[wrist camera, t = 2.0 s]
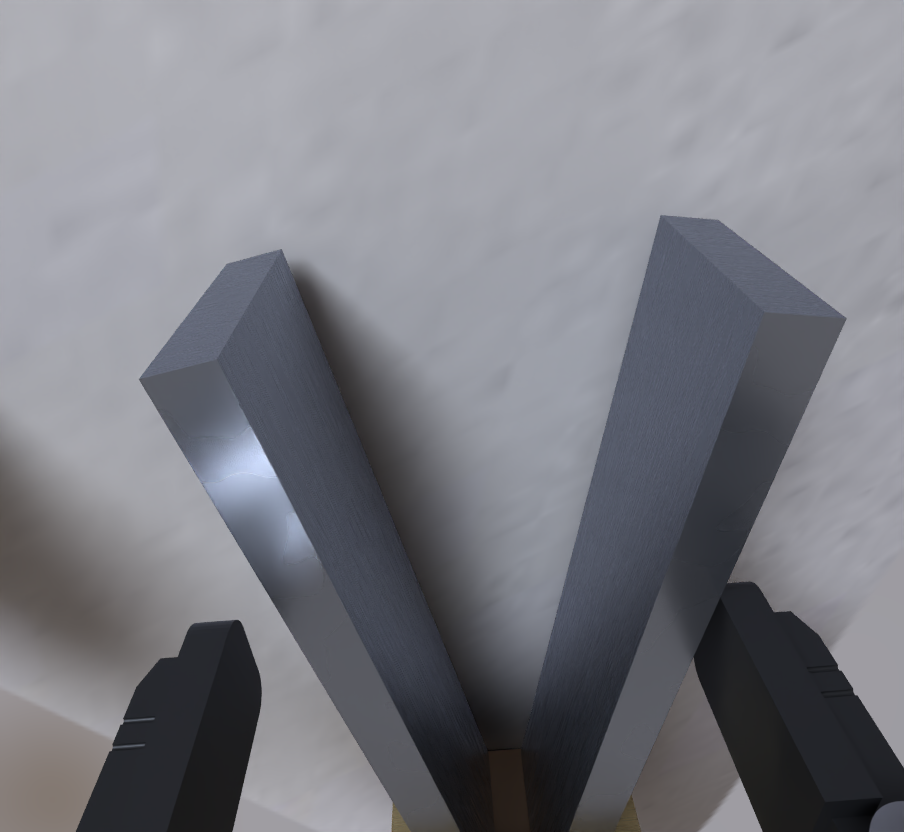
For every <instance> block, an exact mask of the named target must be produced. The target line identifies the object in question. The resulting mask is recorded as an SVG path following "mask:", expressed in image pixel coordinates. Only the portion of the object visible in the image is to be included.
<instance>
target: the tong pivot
mask: <svg viewBox="0 0 904 832" xmlns="http://www.w3.org/2000/svg"><path fill="white" fill-rule="evenodd" d="M488 753H489V764H490V776H491V789H492V802H493V815H494V827H495V832H530V825H529V817H528V808H527V800H526V792H525V784H524V775H523V767H522V759H521V749H510V750H497V751H488Z"/></svg>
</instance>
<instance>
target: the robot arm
mask: <svg viewBox="0 0 904 832" xmlns="http://www.w3.org/2000/svg"><path fill="white" fill-rule="evenodd" d="M694 662H695V667H696V671H697V674H698V677H699V680H700V683H701V685H702V687H703V690H704V692H705V695H706V697H707V699H708V702H709V704H710V707H711V709H712V711H713V714H714V716H715V718H716V721H717V723H718V726H719V728H720V730H721V733H722V735H723V738H724V740H725V742H726V745H727V747H728V750H729V752H730V754H731V757H732V759H733V762H734V764H735V766H736V769H737V771H738V773H739V776H740V778H741V781H742V783H743V785H744V788H745V790H746V793H747V795H748V797H749V800H750V802H751V805H752V807H753V809H754V812H755V814H756V817H757V819H758V821H759V824H760V826H761V828H762V831H763V832H904V768H903V766H902V765H901V763H900V762H899V760H898V758H897V757H896V755H895V754H894V752H893V750H892V749H891V747H890V746H889V745H888V743H887V741H886V739H885V738H884V736H883V735H882V733H881V732H880V730H879V729H878V727H877V726H876V724H875V722H874V721H873V719H872V718H871V716H870V715H869V713H868V711H867V710H866V708H865V707H864V705H863V704H862V702H861V700H860V699H859V697H858V696H855V695H854V693H853V688H852V686H851V685H850V683H849V682H848V680H847V679H846V677H845V675H844V674H843V672H842V671H839V669H838V665H837V663H836V661H835V660H834V658H833V657H832V655H831V654H830V652H829V650H828V649H827V647H826V646H825V644H824V643H823V641H822V639H821V638H820V636H819V635H818V634H817V633H815V632H814V631H813V630H812V629H811V628H810V627H808V626H807V625H806V624H805V623H804V622H803V621H801V620H800V619H799V618H798V617H797V616H795V615H794V614H793V613H792V612H791V611H787V612H775V613H774V612H773V610H772V609H771V607H770V605H769V603H768V602H767V600H766V598H765V597H764V595H763V593H762V592H761V590H760V589H759V587H758V586H757V585H756V584H755V583H753V582H738V583H727V584H726V586H725V588H724V590H723V593H722V595H721V597H720V599H719V601H718V604H717V606H716V608H715V610H714V612H713V615H712V617H711V619H710V621H709V623H708V626H707V628H706V630H705V632H704V635H703V637H702V639H701V641H700V643H699V646H698V648H697V650H696V652H695V654H694ZM261 696H262V688H261V679H260V674H259V671H258V668H257V665H256V662H255V659H254V657H253V654H252V651H251V648H250V645H249V642H248V639H247V637H246V634H245V631H244V628H243V626H242V624H241V622H240V621H239V620H229V621H217V622H204V623H194V624H193V625H192V626H191V627H190V628H189V630H188V632H187V634H186V637H185V639H184V642H183V645H182V647H181V650H180V653H179V655H178V657H174V658H162V659H160V660H159V661H158V662H157V663H156V664H155V666H154V667H153V668H152V669H151V670H150V672H149V673H148V674H147V675H146V676H145V678H144V679H143V680H142V681H141V682H140V683H139V685H138V686H137V687H136V690H135V692H134V694H133V697H132V699H131V702H130V704H129V706H128V709H127V711H126V713H125V716H124V718H123V719H124V723H123V725H120V728H119V730H118V732H117V735H116V737H115V740H114V742H113V749H112V751H110V752H109V754H108V756H107V759H106V761H105V763H104V766H103V768H102V771H101V773H100V775H99V778H98V780H97V783H96V785H95V787H94V790H93V792H92V794H91V797H90V799H89V801H88V804H87V806H86V809H85V811H84V813H83V816H82V818H81V821H80V823H79V825H78V828H77V830H76V832H232V831H233V827H234V822H235V818H236V814H237V809H238V804H239V800H240V796H241V792H242V787H243V783H244V779H245V774H246V770H247V766H248V761H249V757H250V753H251V748H252V744H253V740H254V735H255V731H256V726H257V722H258V718H259V713H260V707H261Z"/></svg>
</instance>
